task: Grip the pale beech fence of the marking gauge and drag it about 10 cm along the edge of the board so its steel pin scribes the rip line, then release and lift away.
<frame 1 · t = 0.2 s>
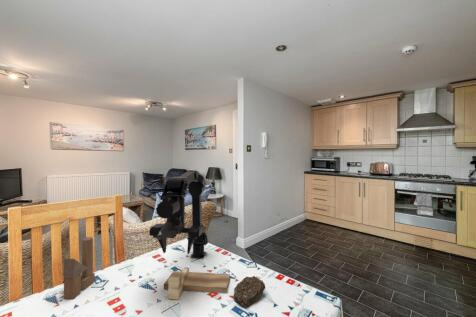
hand: (176, 253, 77), 14 cm above the table, fingers open, 9 cm apart
brown rock: (248, 296, 74), on the table
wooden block: (80, 290, 78), on the table
board: (198, 284, 81), on the table
gauge: (180, 277, 79), point 4 cm above the table, slide at -6.0 cm
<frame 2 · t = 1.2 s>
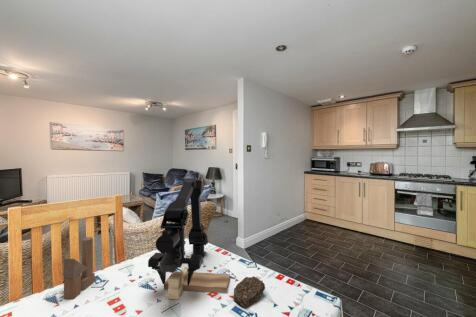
hand: (176, 284, 75), 4 cm above the table, fingers open, 9 cm apart
nothing on the table moved.
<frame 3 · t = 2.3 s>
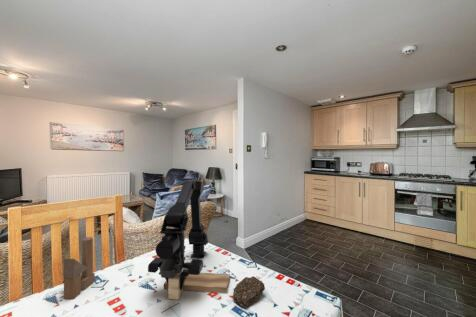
hand: (176, 289, 75), 2 cm above the table, fingers closed on gauge, 3 cm apart
gauge: (180, 277, 79), point 4 cm above the table, slide at -6.0 cm, touching gripper
everything else where it was.
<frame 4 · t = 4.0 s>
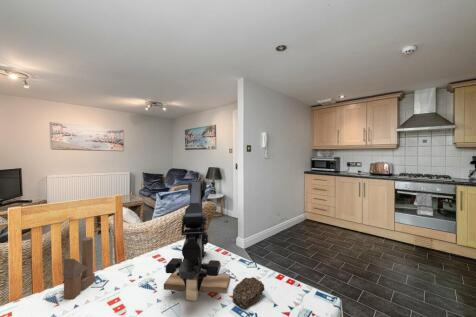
hand: (193, 290, 74), 2 cm above the table, fingers closed on gauge, 3 cm apart
gauge: (197, 278, 78), point 4 cm above the table, slide at 0.5 cm, touching gripper
everything else where it was.
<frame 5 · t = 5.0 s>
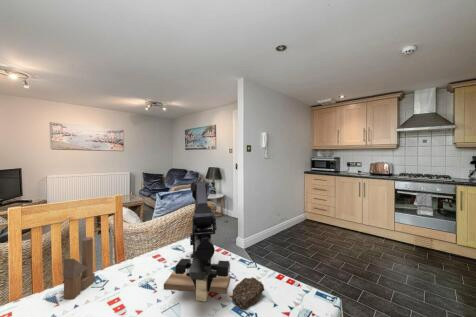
hand: (202, 291, 74), 2 cm above the table, fingers closed on gauge, 3 cm apart
gauge: (206, 279, 78), point 4 cm above the table, slide at 3.9 cm, touching gripper
everything else where it was.
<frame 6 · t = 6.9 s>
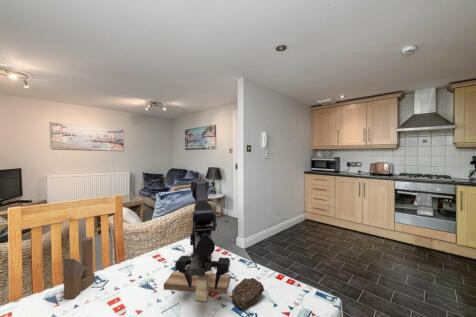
hand: (203, 287, 74), 3 cm above the table, fingers open, 9 cm apart
gauge: (206, 279, 78), point 4 cm above the table, slide at 3.9 cm
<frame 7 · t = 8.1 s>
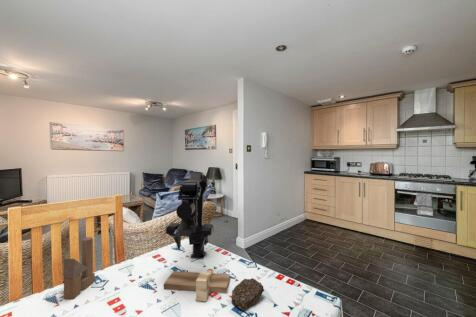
hand: (190, 249, 86), 12 cm above the table, fingers open, 9 cm apart
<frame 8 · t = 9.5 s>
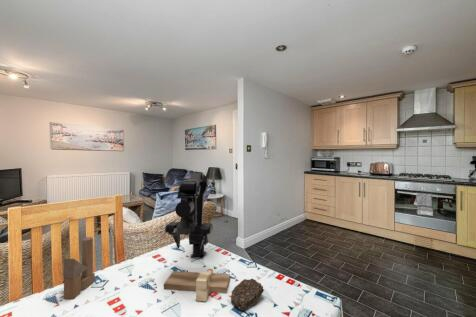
hand: (189, 248, 86), 12 cm above the table, fingers open, 9 cm apart
at the end: gauge slide at 3.9 cm; the gripper is holding nothing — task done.
